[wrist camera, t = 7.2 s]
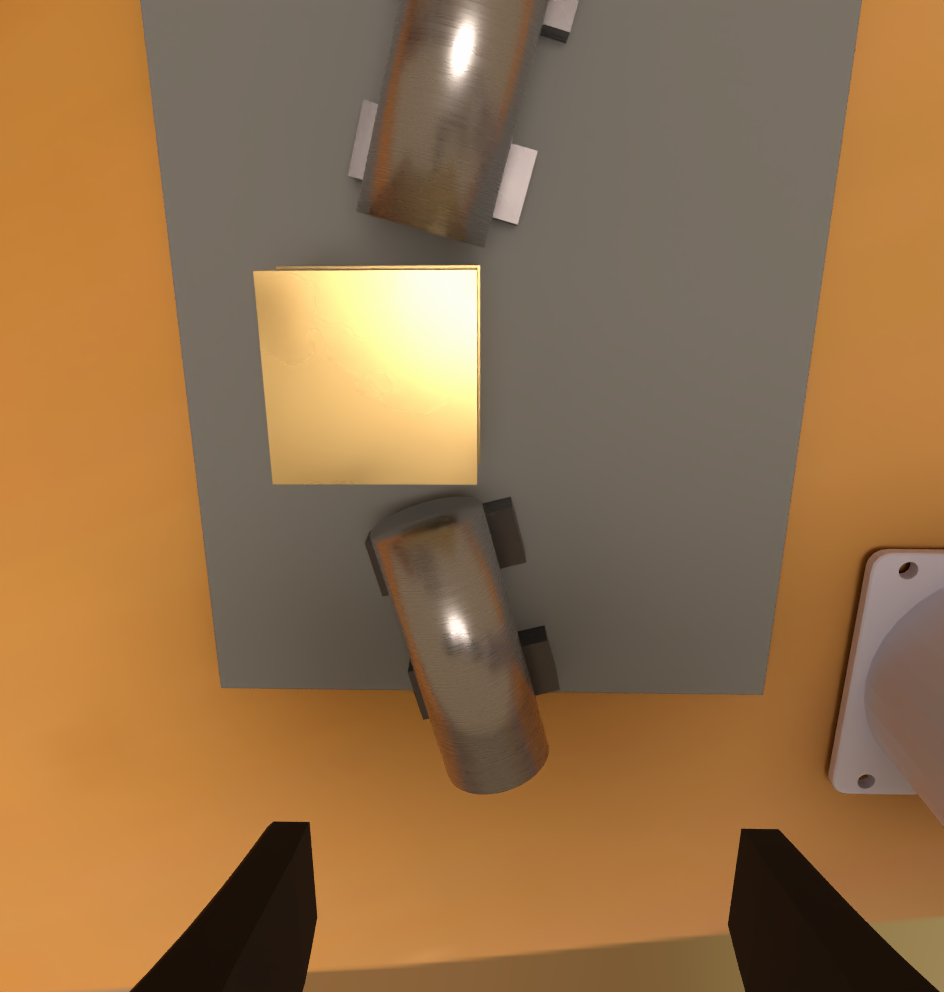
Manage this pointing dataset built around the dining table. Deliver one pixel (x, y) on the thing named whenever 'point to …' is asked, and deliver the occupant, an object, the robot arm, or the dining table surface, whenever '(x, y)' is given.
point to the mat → (523, 325)
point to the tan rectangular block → (371, 373)
